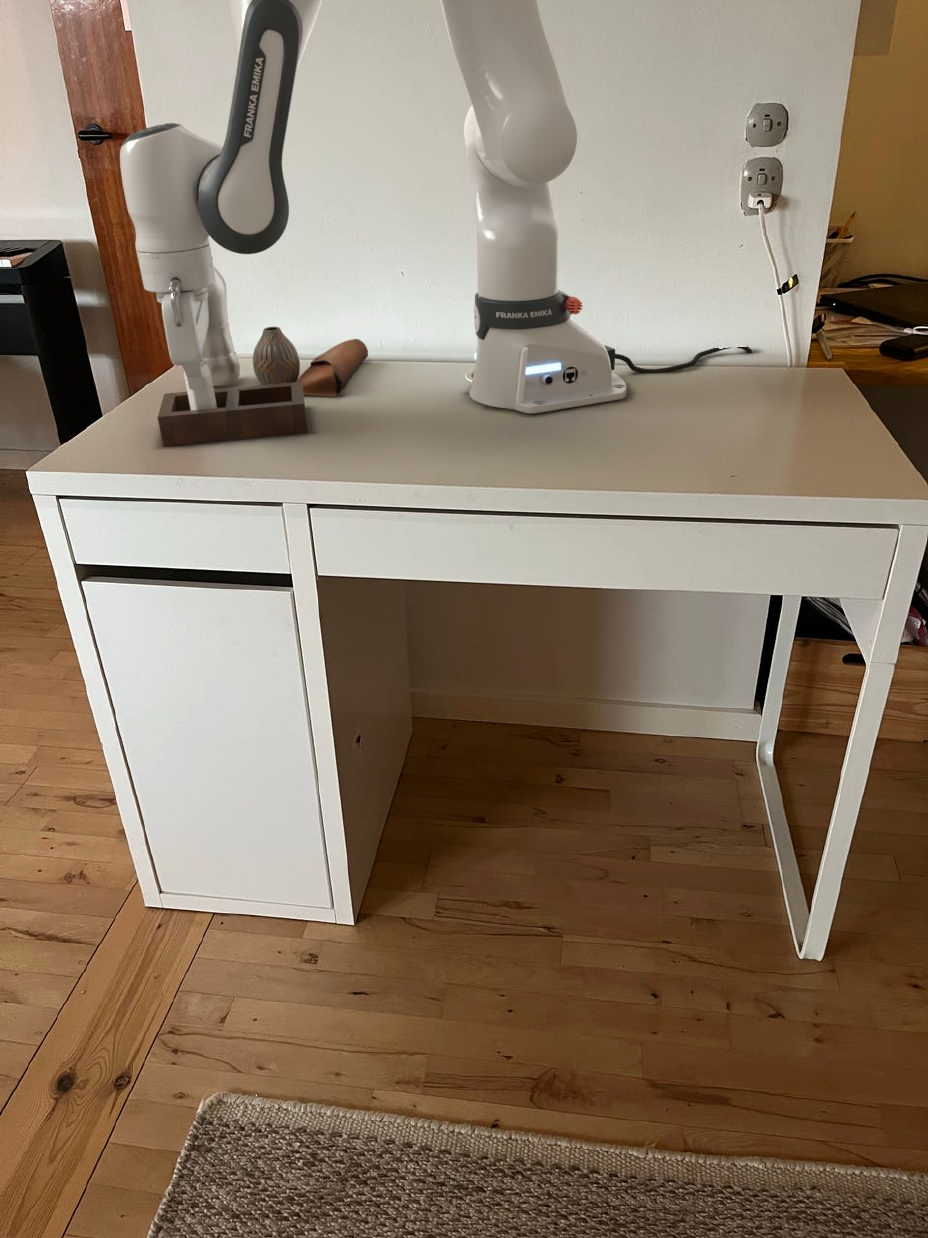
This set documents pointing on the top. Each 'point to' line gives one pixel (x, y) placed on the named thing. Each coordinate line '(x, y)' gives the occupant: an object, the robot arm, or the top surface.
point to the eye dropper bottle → (202, 391)
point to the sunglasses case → (333, 369)
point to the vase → (275, 358)
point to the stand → (234, 415)
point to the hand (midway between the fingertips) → (198, 380)
